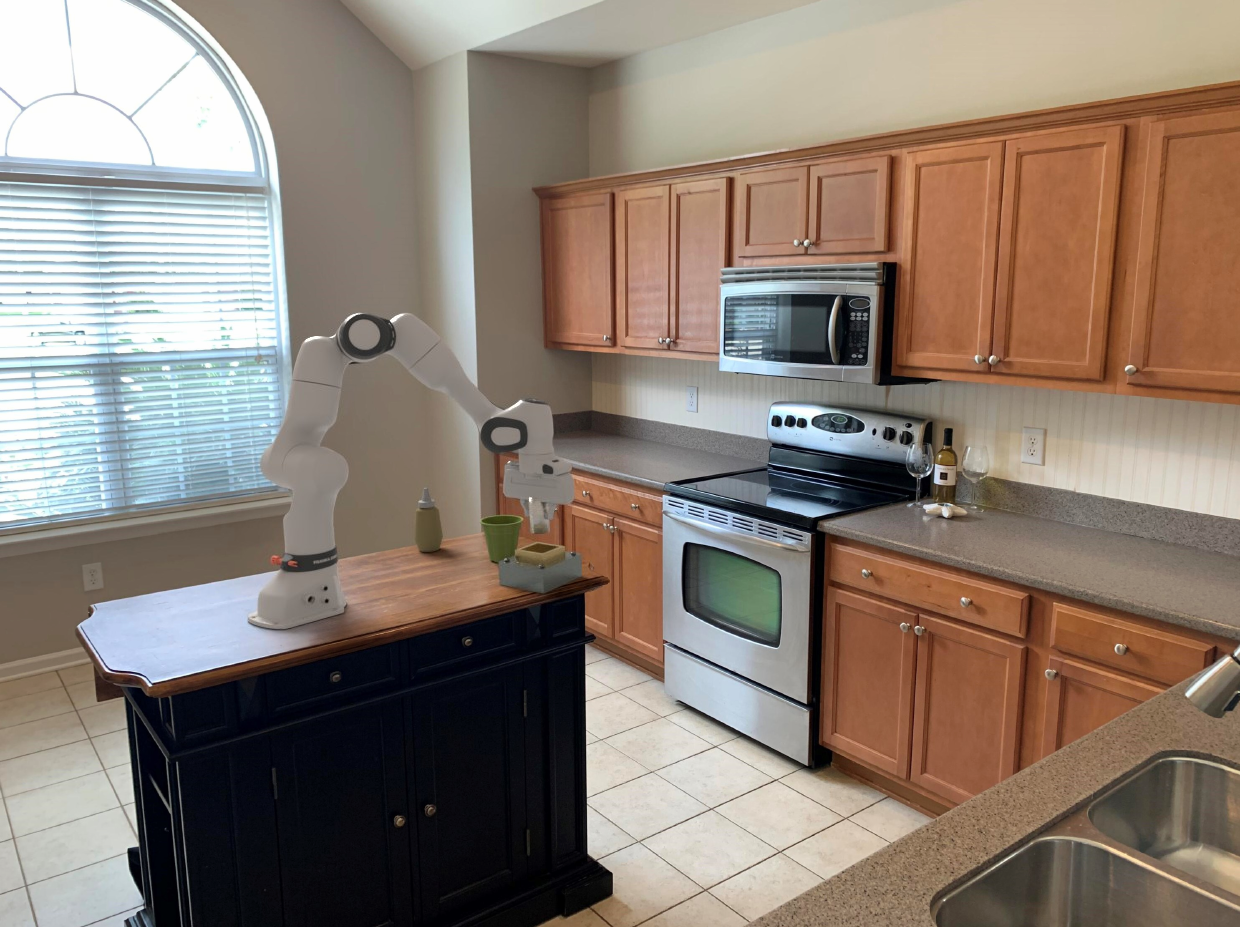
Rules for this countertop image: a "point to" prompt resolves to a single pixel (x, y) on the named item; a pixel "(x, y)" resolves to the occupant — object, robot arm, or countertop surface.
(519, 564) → the grey square housing block
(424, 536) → the squeeze bottle
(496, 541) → the plant pot
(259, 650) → the countertop surface
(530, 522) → the spout can
